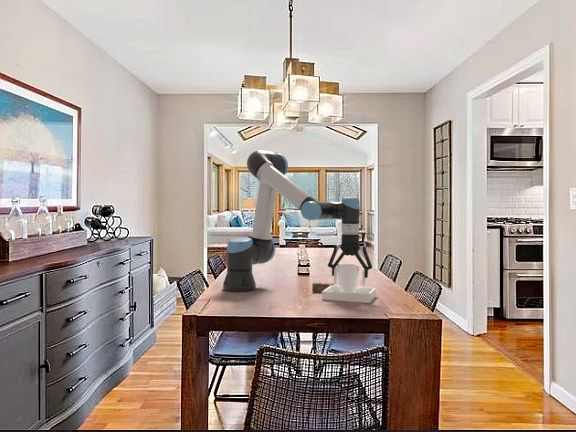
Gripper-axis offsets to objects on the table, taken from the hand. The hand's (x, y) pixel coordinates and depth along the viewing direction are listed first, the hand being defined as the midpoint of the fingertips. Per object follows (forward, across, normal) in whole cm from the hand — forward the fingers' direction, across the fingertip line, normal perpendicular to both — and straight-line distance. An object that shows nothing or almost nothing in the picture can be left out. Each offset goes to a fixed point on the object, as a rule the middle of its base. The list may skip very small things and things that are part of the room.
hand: (349, 284), depth 221 cm
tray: (+6, 0, 0) cm, 6 cm away
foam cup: (+5, -1, 0) cm, 5 cm away
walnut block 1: (+6, -17, +10) cm, 21 cm away
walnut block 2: (+6, -12, +10) cm, 17 cm away
